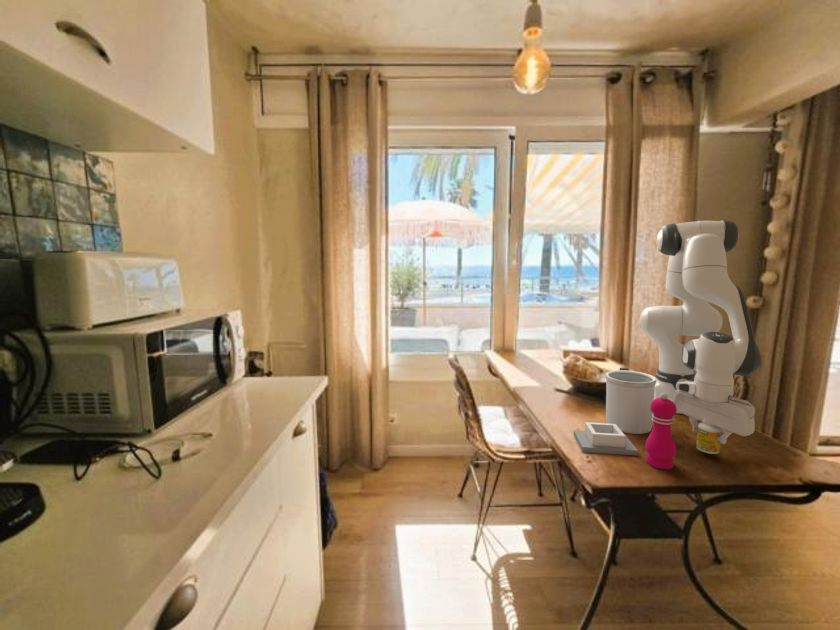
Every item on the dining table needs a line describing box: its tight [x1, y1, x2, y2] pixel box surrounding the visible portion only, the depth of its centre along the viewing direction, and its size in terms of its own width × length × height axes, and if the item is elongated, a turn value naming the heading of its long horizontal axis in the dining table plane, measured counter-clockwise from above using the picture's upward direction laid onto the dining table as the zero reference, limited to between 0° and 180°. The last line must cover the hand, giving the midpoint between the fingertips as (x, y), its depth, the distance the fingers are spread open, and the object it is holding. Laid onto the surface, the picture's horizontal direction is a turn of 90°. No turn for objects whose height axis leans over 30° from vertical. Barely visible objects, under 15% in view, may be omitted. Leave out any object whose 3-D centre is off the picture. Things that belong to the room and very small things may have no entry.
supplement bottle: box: [695, 418, 722, 455], centre depth 110 cm, size 5×5×10 cm
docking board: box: [573, 421, 639, 456], centre depth 118 cm, size 12×15×5 cm
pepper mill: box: [644, 393, 677, 470], centre depth 105 cm, size 7×7×20 cm
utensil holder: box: [605, 369, 656, 435], centre depth 131 cm, size 15×15×18 cm
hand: (708, 437), depth 111 cm, fingers closed on supplement bottle, 5 cm apart
